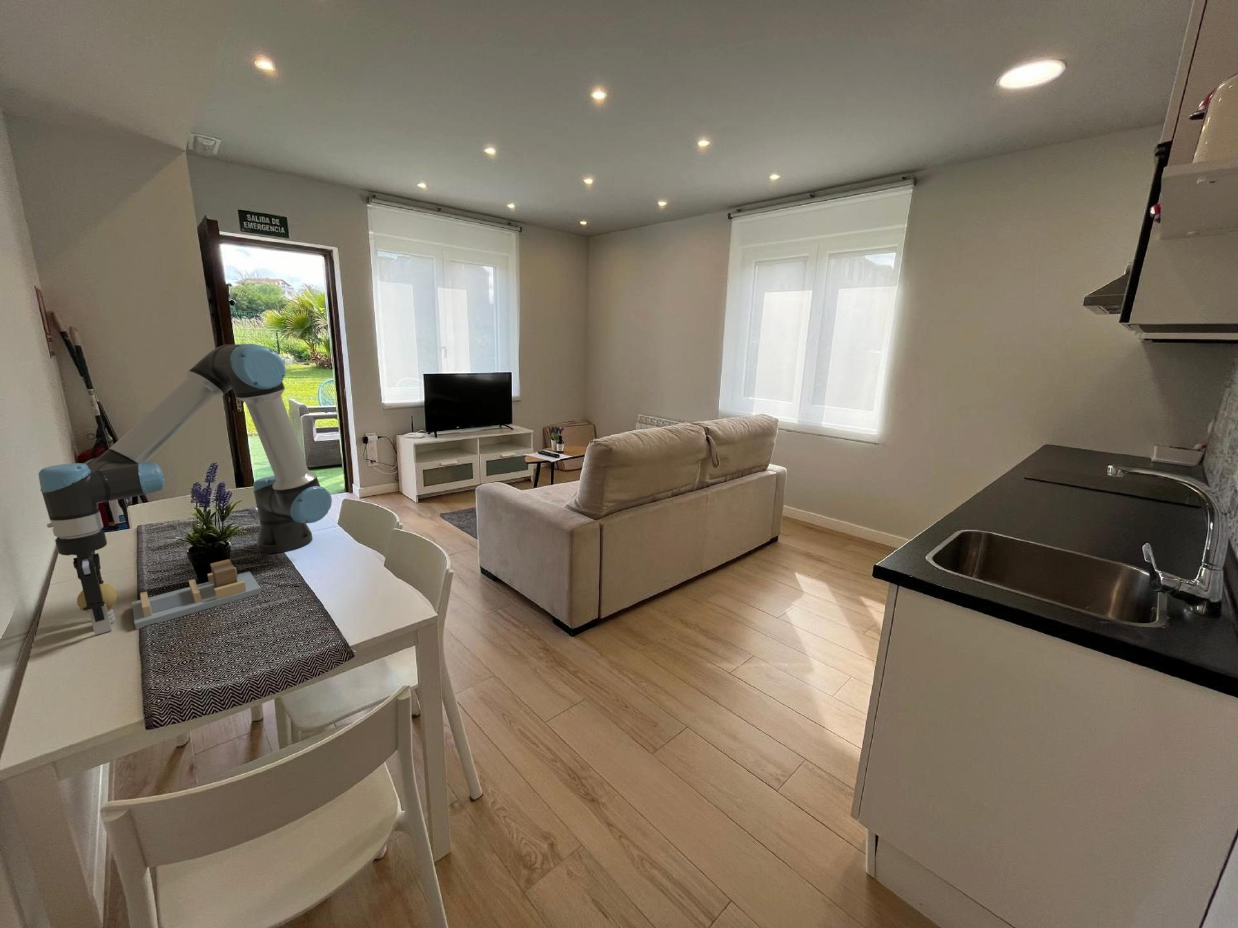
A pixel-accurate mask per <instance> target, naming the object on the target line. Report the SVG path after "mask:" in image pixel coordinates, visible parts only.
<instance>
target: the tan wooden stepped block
mask: <svg viewBox="0 0 1238 928" xmlns="http://www.w3.org/2000/svg"><path fill="white" fill-rule="evenodd" d="M234 567H235V566H234V565H233V563H232V562H231V560H230V559H229V558H228V559H224V560H220V561H216V562H212V563H210V568H211V573H212V574H213V579H214V584H215V586H216V588H218V587H221V586H225V585H229V584H232V583H236V582H237V577H236V572H235V568H236V567H235V568H234Z"/></svg>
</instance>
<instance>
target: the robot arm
mask: <svg viewBox="0 0 1238 928" xmlns="http://www.w3.org/2000/svg"><path fill="white" fill-rule="evenodd" d="M186 377H187V378H186V379H184V380H183V382H181V383H180V384H179V385H178V386H177V387H176V388H175V389H173V391H171V392H170V393H169V394H168V395H167V396H166V397H165V398H164V399H163V400H162V401H160V402H159V403H158V404H157V405H155V407H154V408H153V409H151V411H149V412H148V413H147V414H146V415H144V416H143V418H142V419H141V420H139V421H138V422H137V423H135V425H134V426H132V427H131V428H130V429H129V430H128V431H127V432H126V433H125V434H123V436H121V437H120V438H119V439H118V440H117V441H116V442H115V443H113V445H111V446H110V447H109V448H108V449H107V450H105V452H103V453H101V455H100V456H99V457H95V458H92V459H89V460H87V461H86V462H83V463H82V462H81V463H79V462H76V463H75V462H74V463H73V462H72V463H65V464H64V463H63V464H62V463H61V464H57V465H51V466H46V467H44V468H42V469H40V471H39V472H38V480H39V485H40V487H39V488H40V492H41V494H42V497H43V501H44V505H45V507H46V511H47V514H48V515H47V516H48V519H49V522H50V523H47V524H46V528H49V529H50V528H52V532H53V533H52V534H53V536H54V537H56V538H55V540H54V542H55V544H56V545H55V546H56V549H57V553H58V554H59V555H61V556H76V557H73V561H72V564H73V568H74V569H75V571H76V574H77V579H79V580H80V584H81V588H82V591H83V592H84V596H85V600H86V604H87V606H86V607H85V608H83V610H84V612H85V610H88V611H89V613H88V615H89V617H90V618H89V619H90V622H91V626H92V629H93V634H94V636H97V635H101V634H105V633H107V632H111V631H112V630H113V628H112V624H110V620H109V616H108V612H107V608H106V604H105V602H104V601H103V597H102V592H101V587H100V584H105V583H104V582H105V581H104V580H103V577H102V574H101V568H102V567H101V560H100V559H101V558H100V554H99V552H98V553H96V551H98V550H102V549H103V548H104V547H106V546H107V544H108V540H107V538H106V537H107V536H106V533H105V530H103V528H104V523H103V520H102V519H103V518H102V515H101V512H100V509H99V504H100V503H101V504H102V503H107V502H111V501H117V500H122V499H128V498H133V497H138V496H139V497H140V496H144V495H145V496H147V495H149V494H153V493H157V492H160V491H162V490H163V489H164V488H165V482H166V481H165V476H164V473H163V470H162V468H161V467H160V465H158V464H157V463H156V462H153V461H149V460H151V459H152V458H153V457H154V456H155V455H156V454H157V453H158V452H159V451H160V450H162V448H164V446H165V445H167V444H168V442H170V441H171V440H172V439H173V438H174V437H175V436H176V435H177V434H178V433H179V432H180V431H181V430H183V428H184V427H186V426H187V425H188V424H189V423H190V422H191V421H192V420H193V419H194V418H195V417H196V416H197V415H198V414H199V413H200V412H202V410H203V409H205V408H206V406H207V405H209V404H210V403H211V402H212V401H214V399H215V398H217V397H218V398H219V397H221V398H222V397H223V396H225V394H227V393H228V392H229V391H231V390H233V393H234V395H235V397H236V399H238V400H239V401H241V402H244V403H245V405H246V408H247V409H248V410H247V411H248V413H249V415H250V417H251V420H252V423H253V425H254V428H255V430H256V433H257V435H258V438H259V440H260V443H261V445H262V447H263V450H264V453H265V456H266V458H267V460H268V462H269V465H270V468H271V470H272V473H273V475H271V476H266V477H263V478H259V479H256V480H255V481H254V482H253V493H254V499H255V504H256V509H257V514H258V521H259V531H258V534H257V539H256V540H257V541H256V548H257V550H258V551H259V552H260V553H267V554H272V553H273V554H274V553H282V552H283V553H284V552H289V551H292V550H297V549H300V548H302V547H305V546H306V545H309V544H310V543H311V542H312V541H313V533H312V531H311V529H310V527H309V526H308V524H315V523H316V522H319V521H321V520H322V519H323V518H324V517H326V515H328V513H329V511H330V510H331V507H332V503H333V500H332V499H333V498H332V494H331V493H330V492H329V490H328V489H326V488H325V487H323V486H321V484H320V482H319V479H318V476H317V474H316V473H315V472H312V471H310V470H309V467H308V466H307V463H306V461H305V457H304V455H303V452H302V449H301V445H300V444H299V442H298V438H297V436H296V433H295V430H294V428H293V427H294V426H293V425H292V422H291V419H290V417H289V414H288V411H287V409H286V405H285V403H284V401H283V398H282V395H283V393H284V391H285V390H286V388H285V385H284V383H283V381H284V378H285V377H286V365H285V363H284V360H283V359H282V357H281V356H280V355H279V354H278V353H277V352H276V351H274V350H273V349H272V348H270V347H267V346H264V345H260V344H254V343H241V344H240V343H239V344H238V343H237V344H235V343H233V344H231V343H228V344H223V345H220V346H218V347H215V348H214V349H212V350H211V351H210V352H209V353H207V354H206V355H205V356H204V357H203V358H201V359H200V360H199V361H198V362H197V363H196V364H195V365H193V367H192V368H190V369H189V370H188V371H187V372H186ZM106 584H107V585H109V584H108V583H106ZM94 602H95V603H94ZM83 610H82V611H83Z"/></svg>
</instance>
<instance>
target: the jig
mask: <svg viewBox="0 0 1238 928" xmlns="http://www.w3.org/2000/svg"><path fill="white" fill-rule="evenodd" d="M234 568H235V572H236V577H237V582H236V583H232V584H229V585H225V586H221V587H218V588H216V586H215V584H214V579H213V574H212V572H210V573H207V578H208V581H207V582H204V583H199V584H197V582H196V580H195V579H190V580H188V583H189V587H184V588H181V589H177V590H173V591H169V592H165V593H161V594H157V595H154V596H150V597H149V596H148V592H147V591H143V592H140V593H139V594H140V599H139V600H135V601H132V602H131V605H132V613H133V622H134V626H135V630H139V629H143V628H145V627H144V626H146V625H149V624H153V623H157V624H160V623H163V622H166V621H170V620H174V619H176V618H180V617H184V616H188V615H191V614H194V613H197V612H200V611H205V610H208V609H211V608H215V607H219V606H222V605H226V604H228V603H233V602H236V601H239V600H242V599H246V598H249V597H253V596H257V595H261V594H262V588H261V586H260V585H259V583H258V581H257V580H256V579H255V577H254V576H253V574H252V572H251V571H250V570H249V571H246V572H242V573H238V571H237V567H235V566H234ZM153 625H154V624H153ZM142 627H143V628H142Z"/></svg>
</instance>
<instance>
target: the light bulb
mask: <svg viewBox="0 0 1238 928" xmlns="http://www.w3.org/2000/svg"><path fill="white" fill-rule="evenodd" d="M107 584H108V583H103V584H100V587H101V592H102V597H103V601H104V602H105V604H106V608H107V612H108V616H109V620H110V624H111V625H113V624H114V622H116V616H115V613H114V610H113V606H114V605H115V604H116V601H117V599H118V592H117V590H116V588H115V587H114V586H112V585H110V584H108V585H107ZM94 603H95V602H94ZM76 604H77V606H78V608H80V610H82V612H83V611H84V610H83V608H85V607H86V606H87V604H86V600H85V596H84V592H83V590H82V591H80V592H79V594H78V596H77V598H76ZM84 612H85V613H87V614H89V611H88V610H85V611H84Z"/></svg>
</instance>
